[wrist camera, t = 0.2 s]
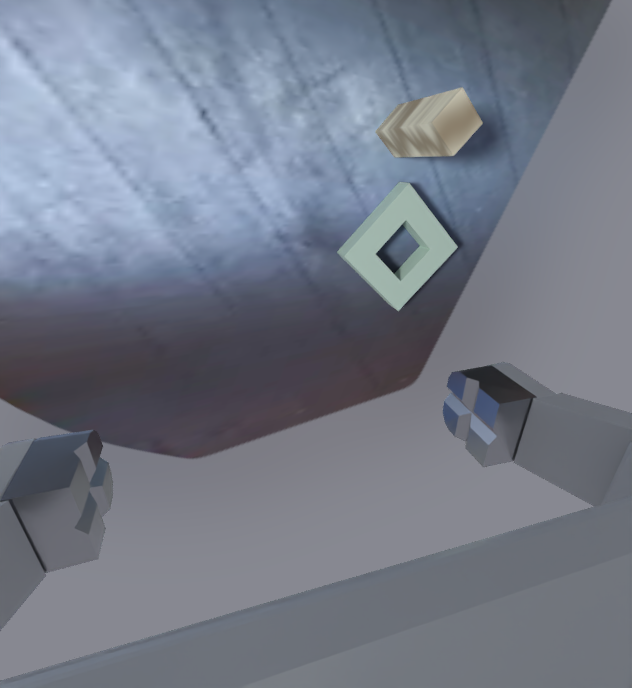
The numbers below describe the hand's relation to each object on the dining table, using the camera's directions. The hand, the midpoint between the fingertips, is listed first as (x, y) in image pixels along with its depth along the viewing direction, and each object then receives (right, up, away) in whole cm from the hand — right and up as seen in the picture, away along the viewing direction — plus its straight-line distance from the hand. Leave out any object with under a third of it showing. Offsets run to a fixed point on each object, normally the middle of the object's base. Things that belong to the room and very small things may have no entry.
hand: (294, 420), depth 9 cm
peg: (+12, +31, +44) cm, 55 cm away
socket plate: (+13, +17, +51) cm, 55 cm away
